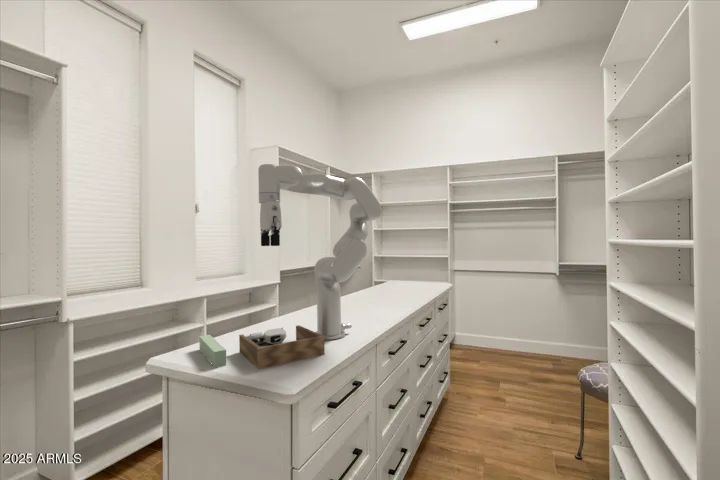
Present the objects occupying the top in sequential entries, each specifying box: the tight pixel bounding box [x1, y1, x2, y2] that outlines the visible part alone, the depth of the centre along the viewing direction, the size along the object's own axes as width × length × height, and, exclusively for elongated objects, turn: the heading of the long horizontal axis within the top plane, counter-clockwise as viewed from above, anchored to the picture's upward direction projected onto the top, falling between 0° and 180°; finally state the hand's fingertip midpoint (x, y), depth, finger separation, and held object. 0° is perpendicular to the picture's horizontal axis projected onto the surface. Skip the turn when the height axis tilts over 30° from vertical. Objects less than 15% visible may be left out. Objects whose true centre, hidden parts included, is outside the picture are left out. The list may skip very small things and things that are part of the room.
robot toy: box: [245, 327, 287, 345], centre depth 132 cm, size 12×4×15 cm
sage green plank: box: [198, 334, 227, 368], centre depth 117 cm, size 23×4×5 cm, turn 35°
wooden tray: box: [238, 325, 326, 370], centre depth 119 cm, size 22×20×6 cm
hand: (270, 245), depth 127 cm, fingers open, 9 cm apart
